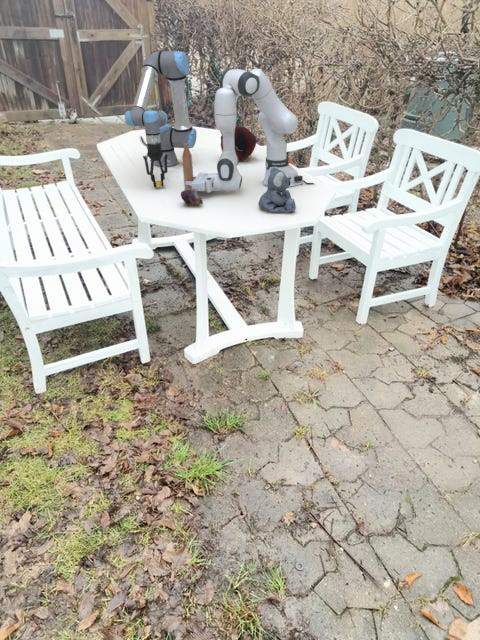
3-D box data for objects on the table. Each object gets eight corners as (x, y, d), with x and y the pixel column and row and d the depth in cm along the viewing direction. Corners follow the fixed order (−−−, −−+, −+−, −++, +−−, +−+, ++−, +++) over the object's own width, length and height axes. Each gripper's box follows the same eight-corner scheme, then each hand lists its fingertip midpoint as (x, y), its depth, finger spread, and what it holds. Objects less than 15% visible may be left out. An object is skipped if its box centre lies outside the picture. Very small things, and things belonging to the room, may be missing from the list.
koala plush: (296, 213, 220) (299, 173, 208) (260, 215, 219) (260, 174, 207) (290, 201, 234) (292, 163, 223) (256, 202, 233) (256, 164, 222)
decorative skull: (217, 132, 306) (217, 129, 282) (251, 124, 305) (253, 121, 281) (224, 164, 313) (224, 164, 289) (257, 157, 312) (260, 156, 288)
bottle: (193, 190, 250) (190, 142, 235) (194, 193, 245) (191, 144, 231) (184, 191, 249) (181, 142, 234) (185, 194, 245) (181, 145, 230)
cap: (155, 185, 254) (154, 180, 252) (161, 184, 254) (161, 180, 253) (155, 187, 251) (154, 182, 249) (162, 186, 251) (161, 182, 250)
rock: (196, 202, 238) (178, 205, 233) (194, 185, 234) (176, 188, 230) (205, 205, 228) (187, 208, 224) (203, 188, 224) (185, 191, 220)
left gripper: (139, 145, 234) (144, 190, 247) (170, 142, 239) (174, 186, 252) (136, 142, 240) (142, 185, 253) (167, 139, 245) (171, 182, 258)
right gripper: (215, 170, 249) (191, 169, 250) (208, 181, 232) (182, 180, 234) (215, 181, 252) (191, 180, 254) (208, 193, 235) (183, 192, 237)
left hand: (158, 186), depth 253 cm, fingers closed on cap, 4 cm apart
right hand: (187, 180), depth 244 cm, fingers closed on bottle, 5 cm apart
